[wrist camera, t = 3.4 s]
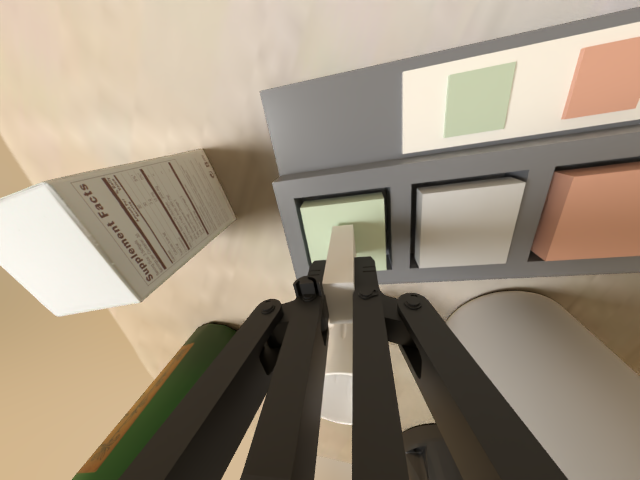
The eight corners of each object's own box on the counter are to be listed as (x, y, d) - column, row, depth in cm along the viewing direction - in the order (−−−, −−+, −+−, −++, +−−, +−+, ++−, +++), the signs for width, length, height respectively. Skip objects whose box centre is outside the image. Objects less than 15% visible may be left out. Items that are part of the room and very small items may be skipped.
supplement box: (182, 233, 26) (53, 320, 15) (143, 167, 22) (-61, 214, 11) (239, 219, 24) (142, 307, 13) (205, 146, 21) (36, 178, 10)
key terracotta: (624, 243, 17) (650, 255, 15) (530, 249, 18) (545, 261, 16) (668, 157, 14) (703, 162, 12) (553, 171, 15) (573, 177, 14)
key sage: (384, 259, 20) (386, 270, 18) (316, 263, 21) (313, 274, 19) (381, 192, 17) (383, 198, 16) (304, 201, 18) (300, 208, 17)
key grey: (494, 252, 18) (505, 263, 17) (414, 257, 19) (419, 268, 18) (510, 176, 15) (525, 182, 14) (416, 187, 17) (422, 194, 15)
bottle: (176, 318, 33) (-348, 912, 8) (242, 312, 30) (-215, 1115, 6) (209, 364, 37) (-65, 833, 13) (268, 362, 35) (72, 931, 11)
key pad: (711, 254, 19) (799, 287, 16) (309, 276, 26) (301, 303, 22) (929, -50, 11) (1222, -136, 8) (268, 93, 18) (245, 86, 14)
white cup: (360, 278, 25) (364, 363, 17) (391, 323, 28) (409, 417, 19) (304, 303, 28) (282, 386, 19) (337, 342, 31) (332, 430, 22)
